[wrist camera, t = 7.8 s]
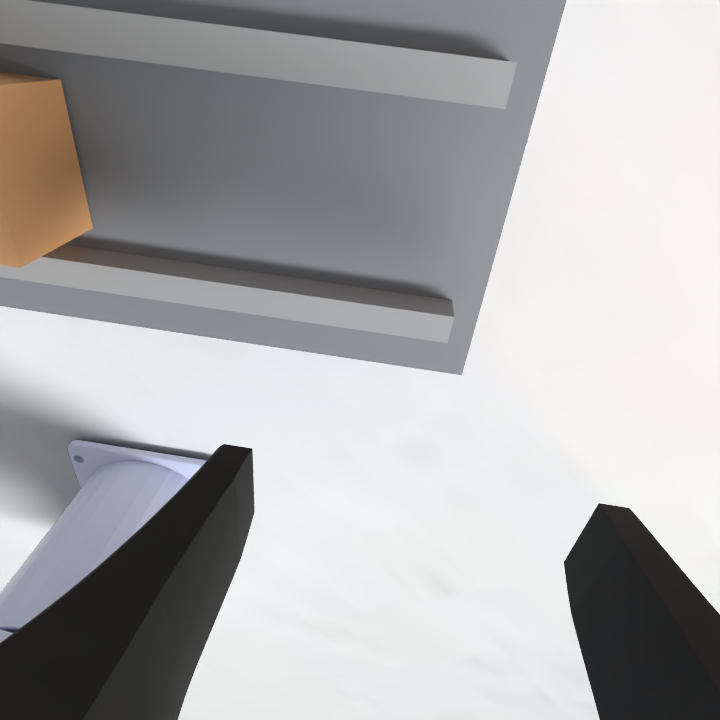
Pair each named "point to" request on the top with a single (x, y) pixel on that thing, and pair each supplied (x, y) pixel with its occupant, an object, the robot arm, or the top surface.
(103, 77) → the rails
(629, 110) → the top surface
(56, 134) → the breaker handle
